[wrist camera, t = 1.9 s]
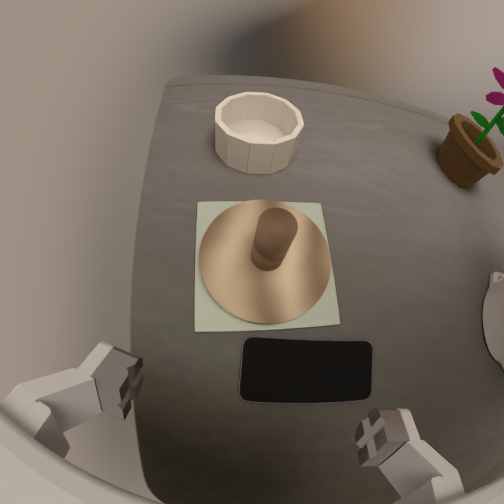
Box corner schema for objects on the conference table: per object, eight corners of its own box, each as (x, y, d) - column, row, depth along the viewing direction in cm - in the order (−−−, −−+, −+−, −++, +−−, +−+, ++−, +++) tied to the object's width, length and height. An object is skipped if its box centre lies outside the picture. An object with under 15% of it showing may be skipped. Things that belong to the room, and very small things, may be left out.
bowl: (288, 122, 43) (295, 95, 38) (299, 175, 38) (310, 146, 33) (216, 120, 42) (217, 91, 36) (214, 173, 37) (213, 143, 32)
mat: (319, 205, 36) (320, 203, 36) (338, 324, 30) (340, 323, 30) (198, 204, 35) (197, 201, 34) (195, 332, 28) (194, 331, 28)
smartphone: (243, 334, 28) (373, 339, 29) (243, 336, 29) (369, 340, 30) (237, 401, 25) (371, 400, 26) (237, 400, 26) (367, 399, 27)
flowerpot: (423, 162, 44) (500, 47, 17) (435, 135, 49) (494, 42, 22) (473, 209, 41) (563, 114, 14) (478, 175, 46) (546, 93, 19)
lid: (317, 206, 36) (337, 166, 28) (335, 320, 30) (369, 302, 22) (201, 205, 34) (197, 161, 27) (199, 326, 28) (190, 311, 21)
